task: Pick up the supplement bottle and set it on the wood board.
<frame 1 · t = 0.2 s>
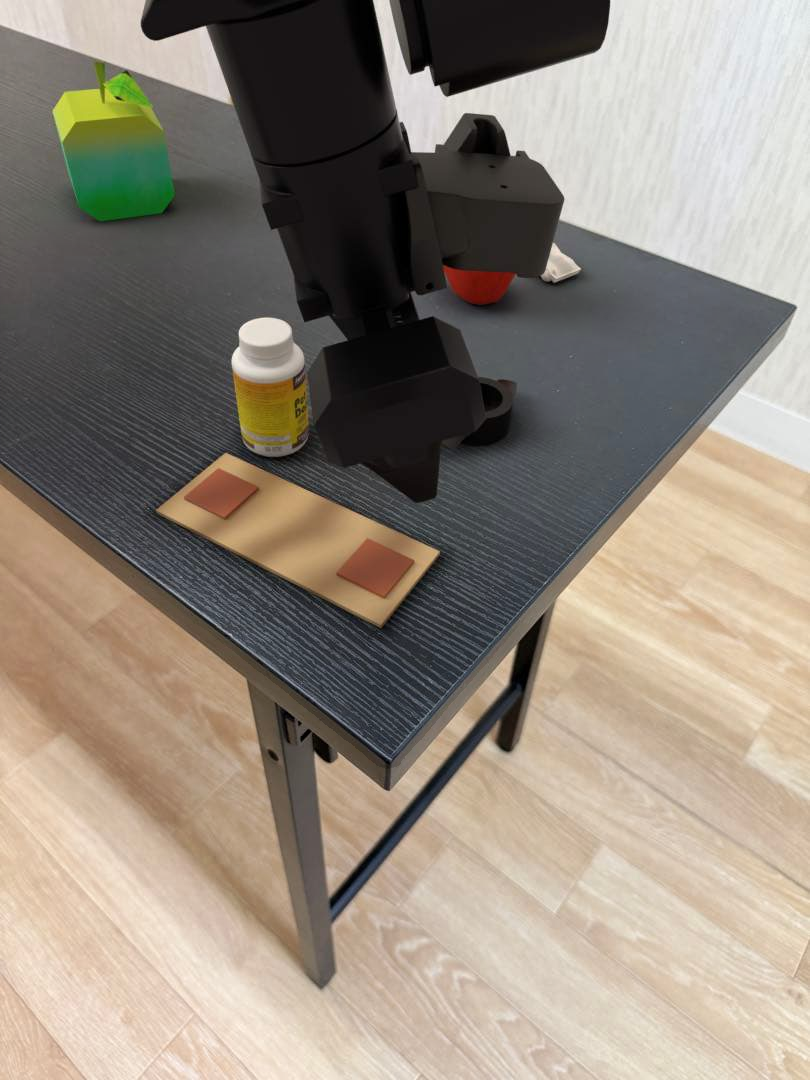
hand: (409, 437, 42), 17 cm above the table, tool pointing down, fingers open, 9 cm apart
supplement bottle: (276, 440, 67), on the table
apple 2: (124, 201, 97), on the table
black hollow round piece: (475, 426, 69), on the table
toy car: (541, 268, 89), on the table
wood board: (296, 534, 60), on the table
apple: (475, 299, 84), on the table
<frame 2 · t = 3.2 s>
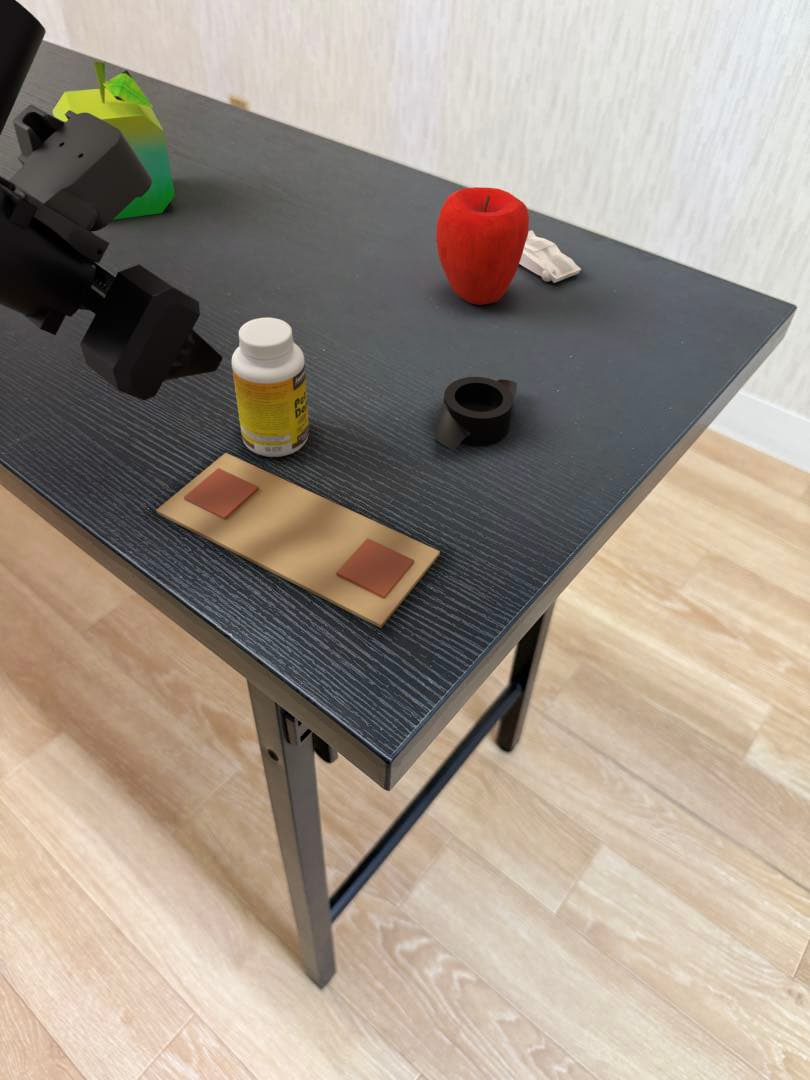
hand: (177, 334, 54), 13 cm above the table, tool tilted 45°, fingers open, 9 cm apart
nothing on the table moved.
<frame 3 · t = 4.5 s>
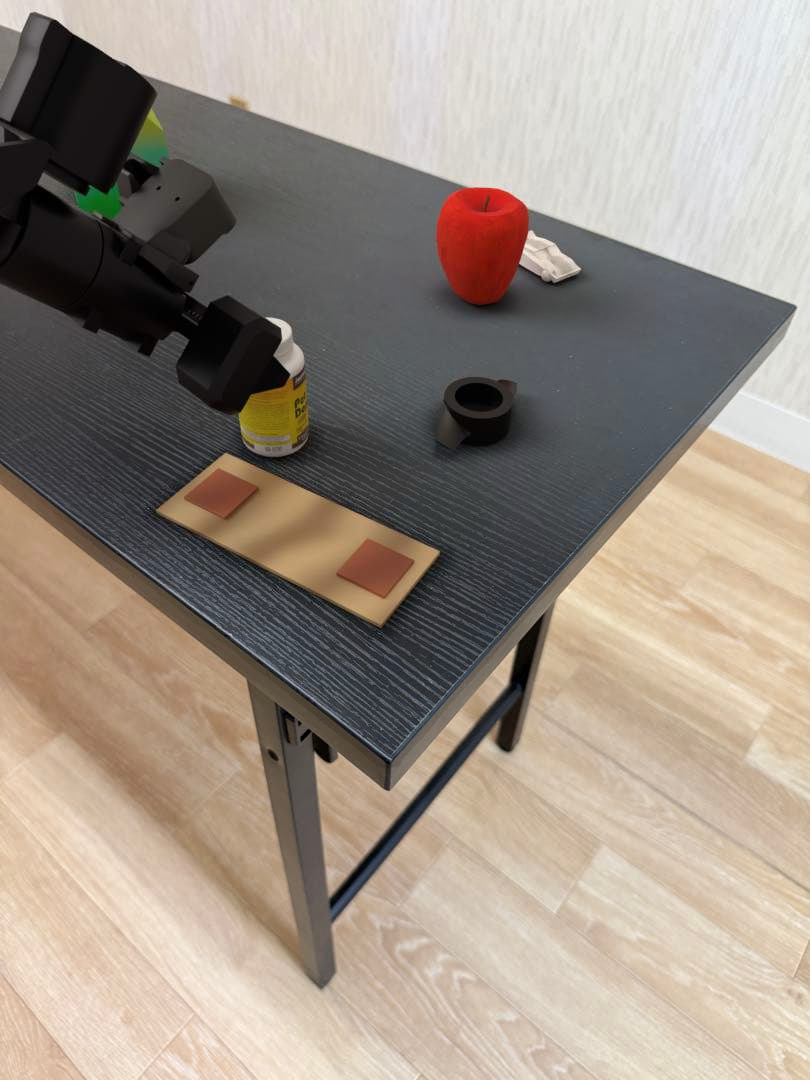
hand: (246, 352, 60), 9 cm above the table, tool tilted 45°, fingers open, 9 cm apart
nothing on the table moved.
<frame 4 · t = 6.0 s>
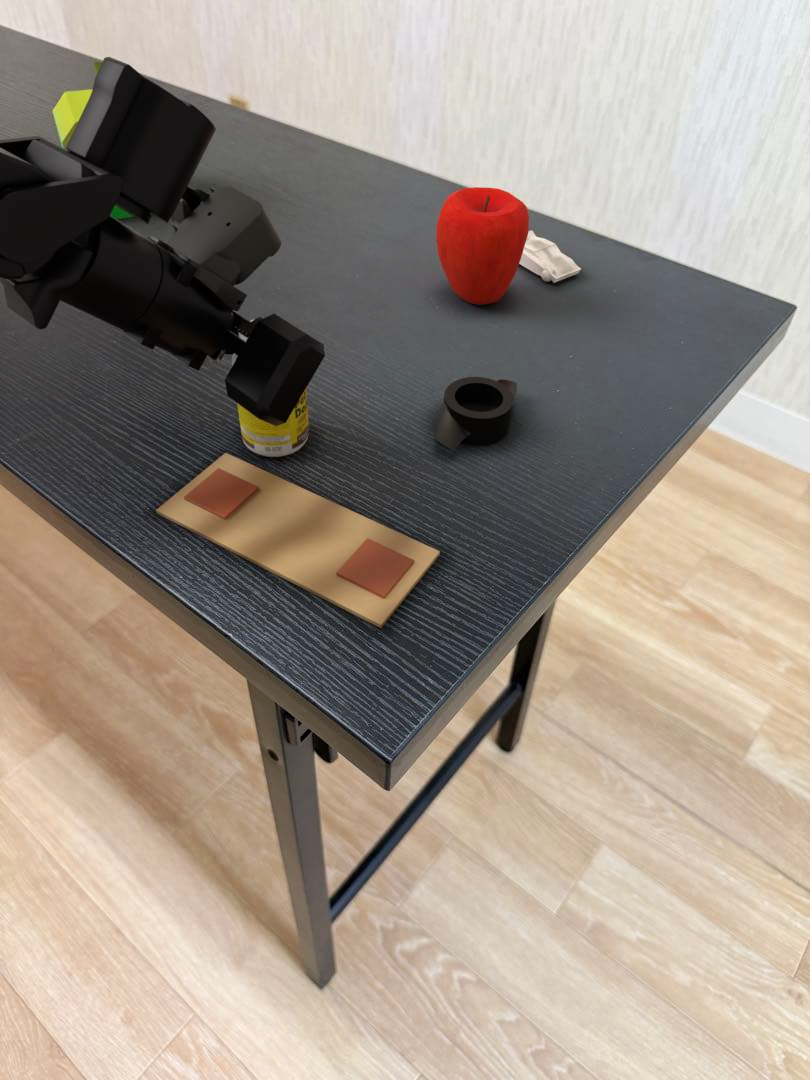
hand: (283, 365, 63), 7 cm above the table, tool tilted 45°, fingers closed on supplement bottle, 5 cm apart
supplement bottle: (276, 440, 67), on the table, touching gripper
everything else where it was.
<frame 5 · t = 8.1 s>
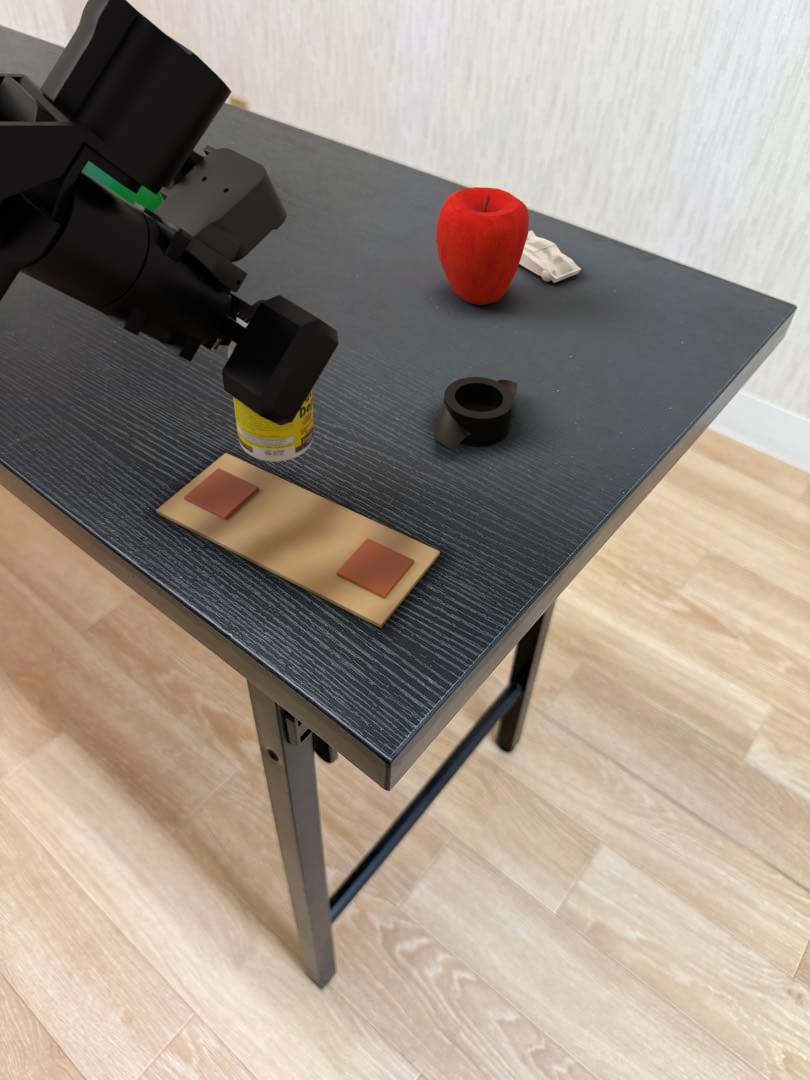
hand: (286, 358, 56), 11 cm above the table, tool tilted 45°, fingers closed on supplement bottle, 5 cm apart
supplement bottle: (277, 443, 60), point 4 cm above the table, touching gripper
everything else where it was.
when the fingers open (7 cm above the table, at t = 10.5 s): supplement bottle stays where it is, resting on wood board.
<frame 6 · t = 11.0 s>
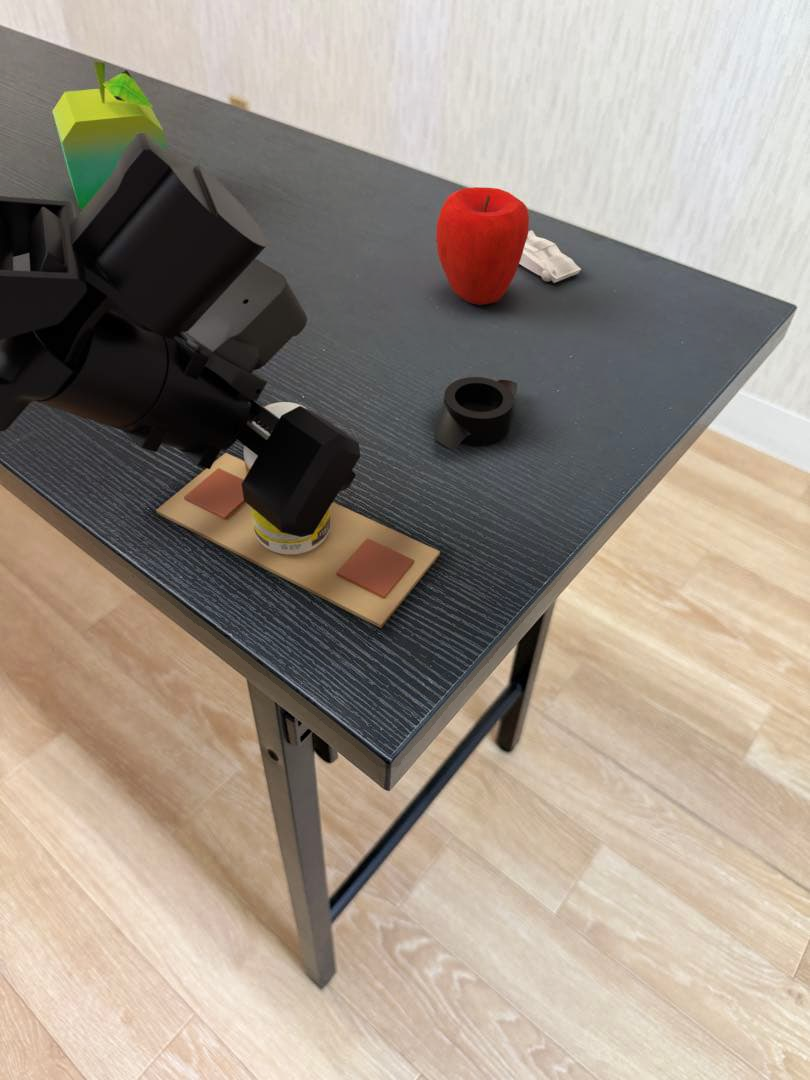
hand: (305, 446, 55), 8 cm above the table, tool tilted 45°, fingers open, 9 cm apart
supplement bottle: (293, 532, 59), resting on wood board
everything else where it was.
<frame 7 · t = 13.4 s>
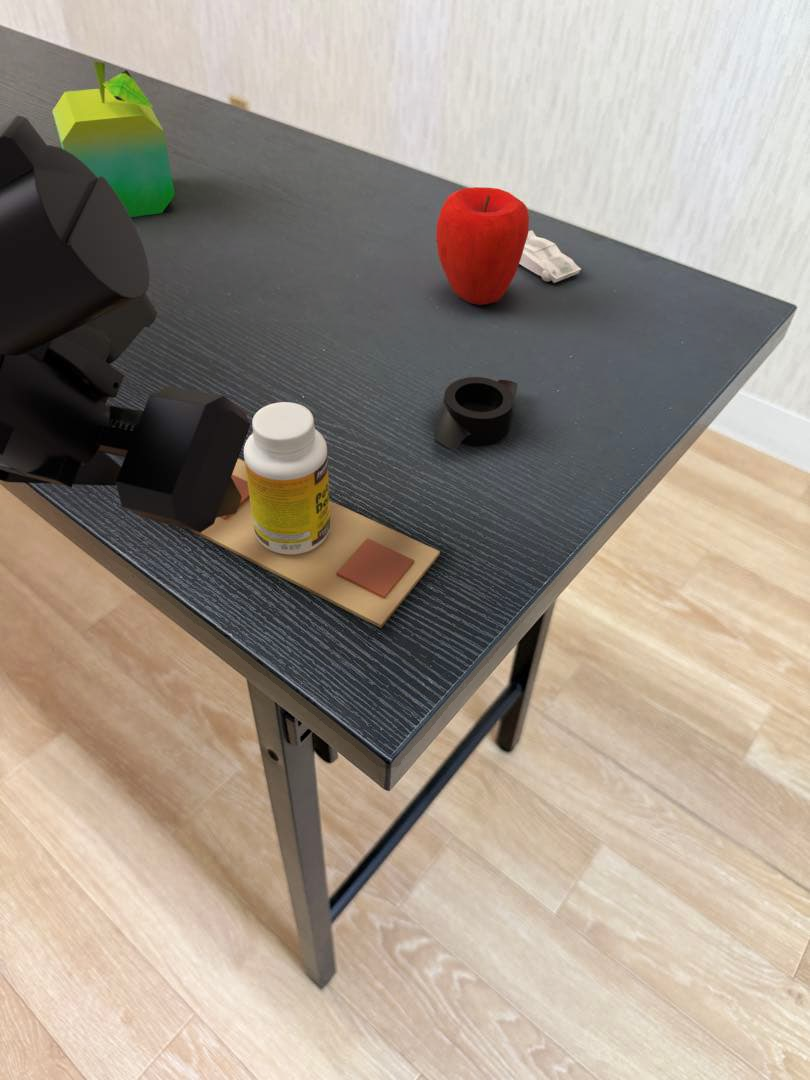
hand: (175, 490, 48), 10 cm above the table, tool tilted 35°, fingers open, 9 cm apart
nothing on the table moved.
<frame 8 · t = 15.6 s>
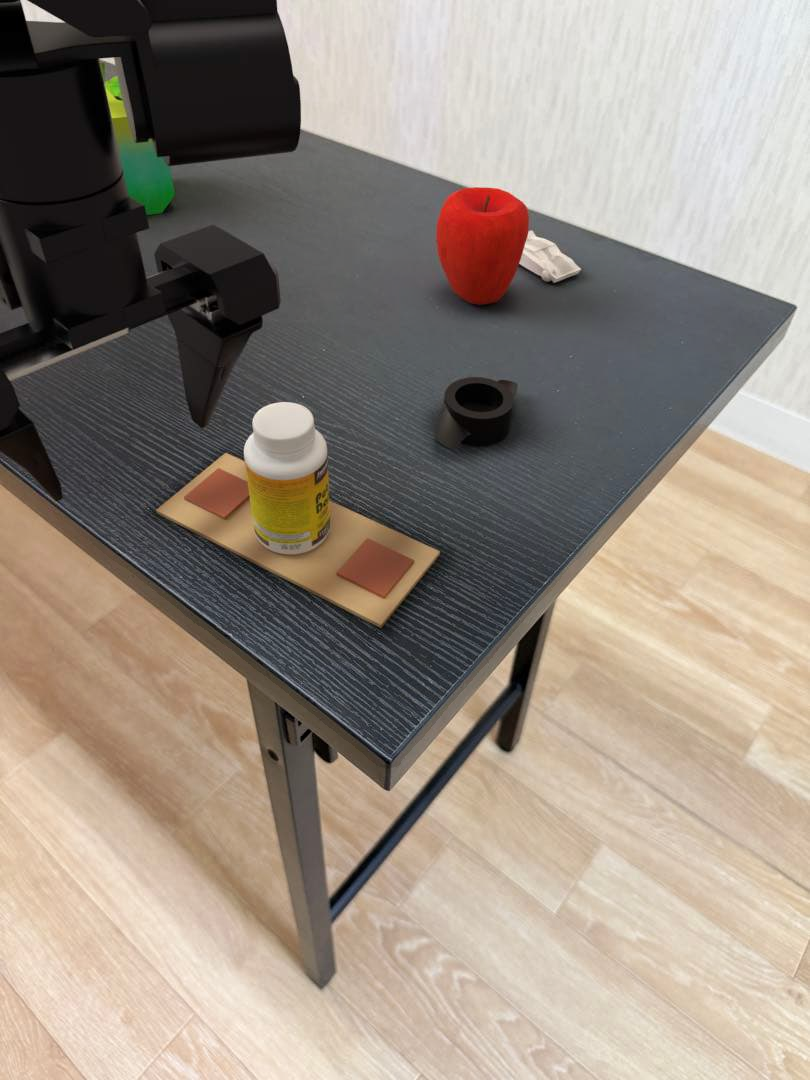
hand: (131, 458, 45), 13 cm above the table, tool pointing down, fingers open, 9 cm apart
nothing on the table moved.
at the end: supplement bottle inside the target area on the wood board (0.2 cm from its centre), point 0.2 cm above the wood board's base; supplement bottle tilted 0°; apple 2 moved 0.2 cm from its start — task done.
